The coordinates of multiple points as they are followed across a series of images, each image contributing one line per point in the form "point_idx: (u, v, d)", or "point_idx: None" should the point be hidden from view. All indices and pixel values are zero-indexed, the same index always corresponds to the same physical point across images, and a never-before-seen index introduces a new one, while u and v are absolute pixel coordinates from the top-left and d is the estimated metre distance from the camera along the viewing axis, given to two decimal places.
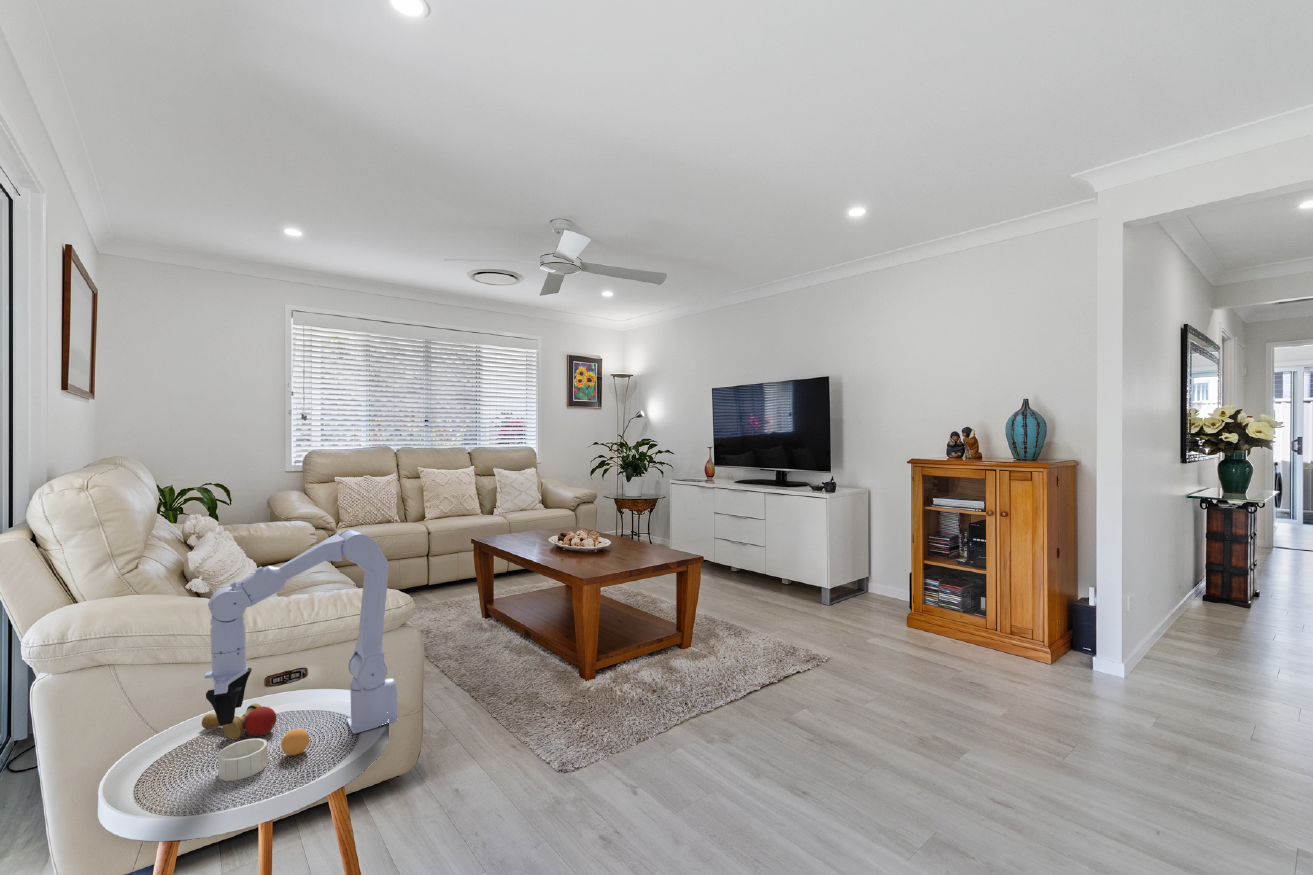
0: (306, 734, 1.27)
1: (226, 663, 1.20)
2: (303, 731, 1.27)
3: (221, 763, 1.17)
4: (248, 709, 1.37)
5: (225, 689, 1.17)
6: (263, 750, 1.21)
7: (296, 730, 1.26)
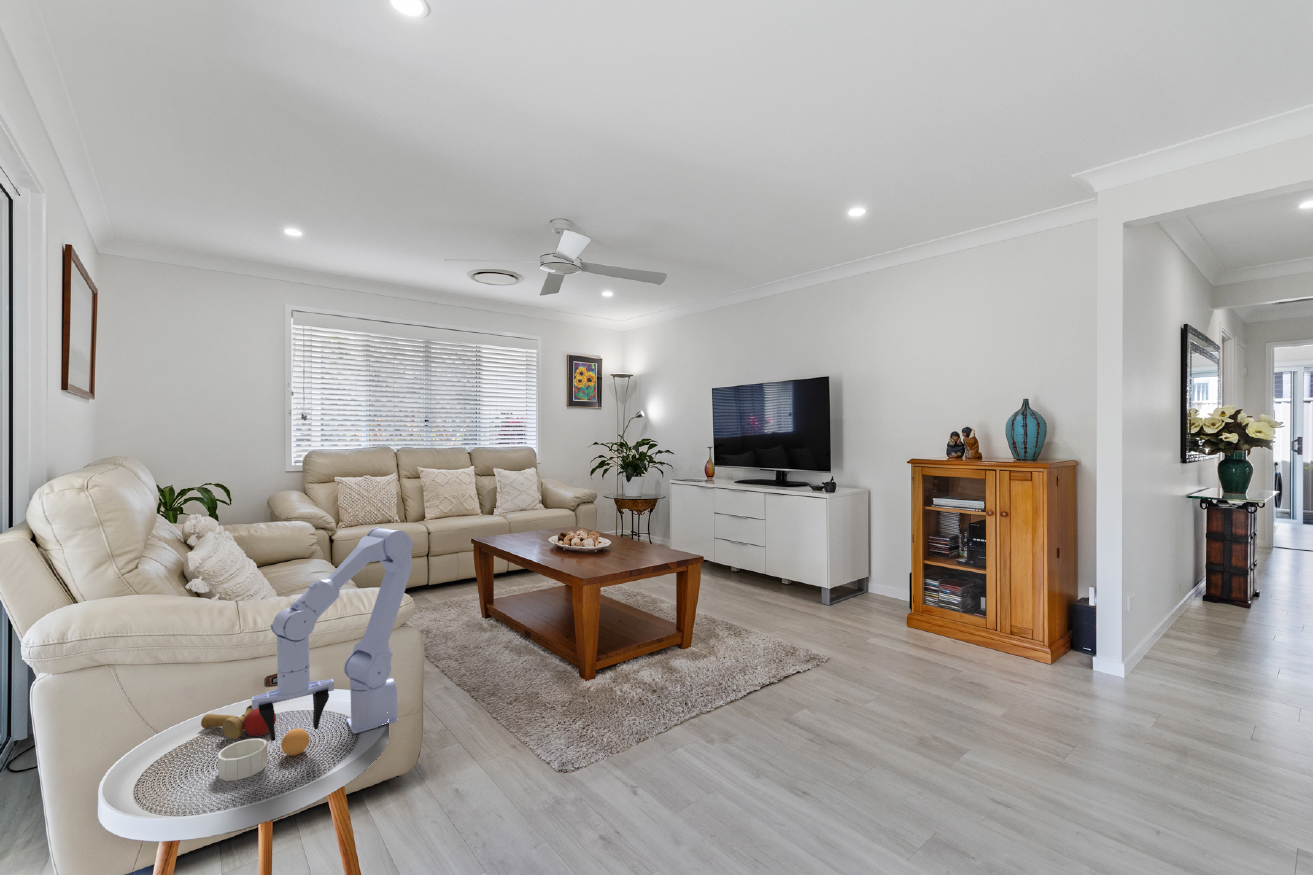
0: (306, 734, 1.27)
1: None
2: (303, 731, 1.27)
3: (221, 763, 1.17)
4: (247, 709, 1.38)
5: (252, 705, 1.21)
6: (263, 750, 1.21)
7: (296, 730, 1.26)
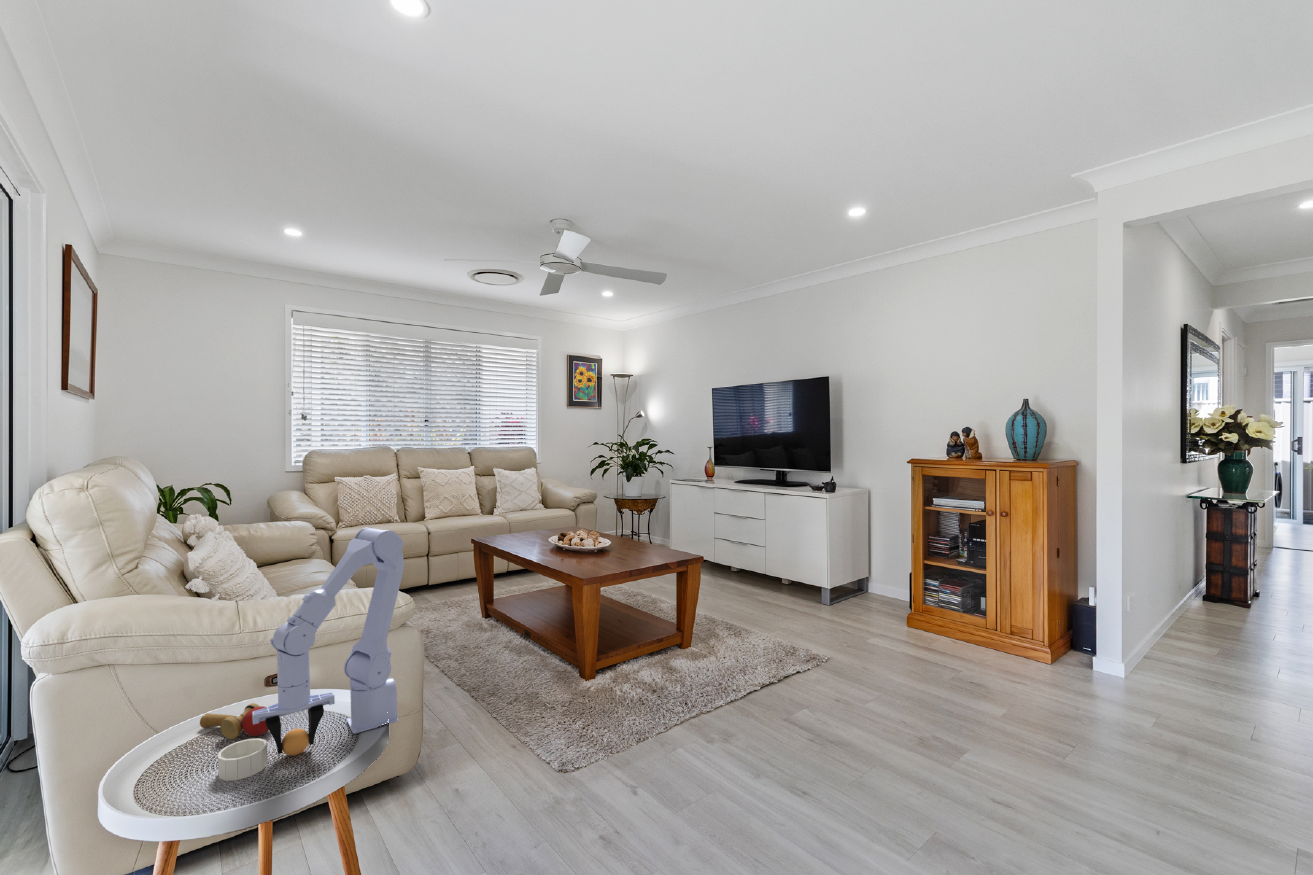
0: (306, 734, 1.27)
1: (278, 695, 1.24)
2: (303, 731, 1.27)
3: (221, 763, 1.17)
4: (246, 709, 1.38)
5: None
6: (263, 750, 1.21)
7: (296, 730, 1.26)
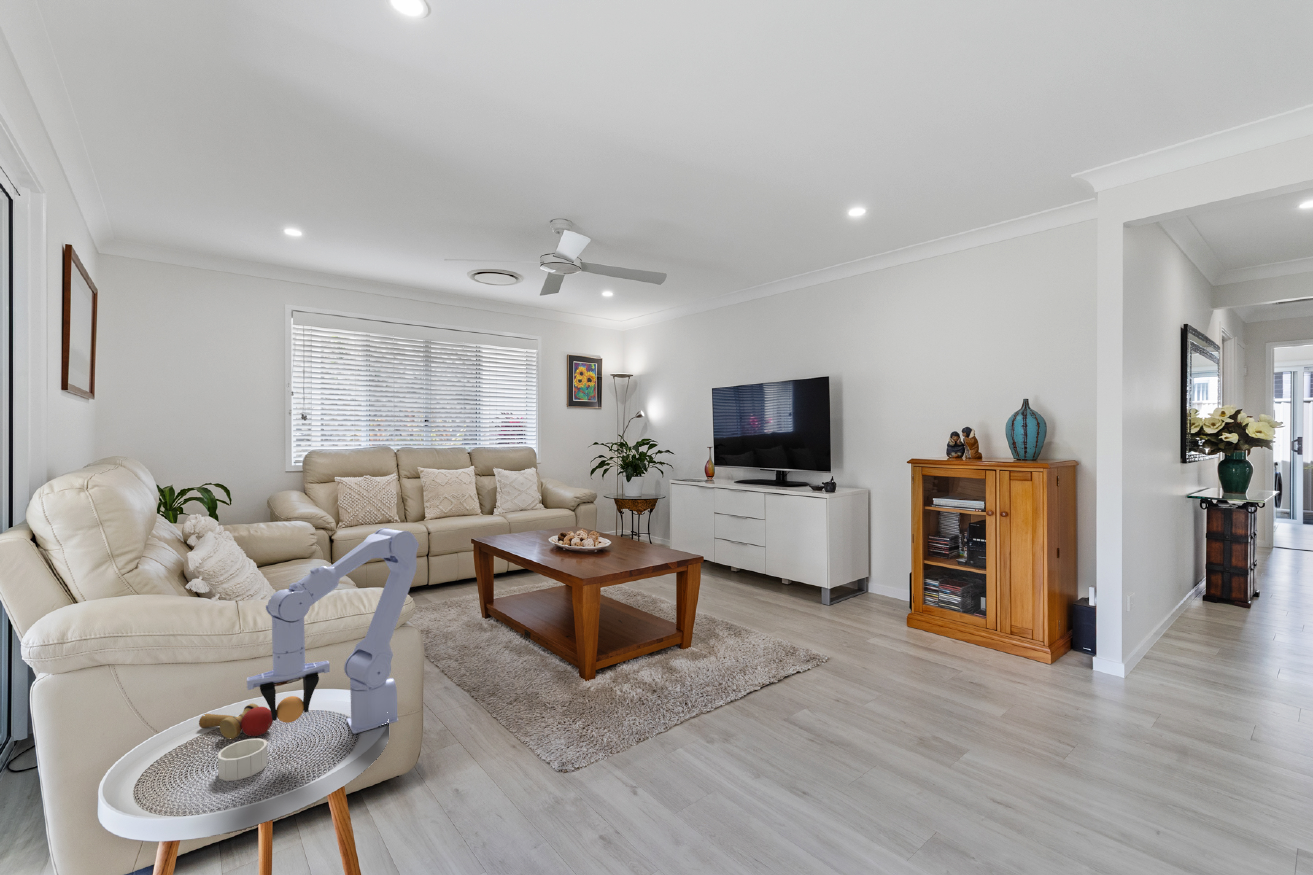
0: (301, 702, 1.26)
1: (273, 662, 1.24)
2: (298, 699, 1.26)
3: (221, 763, 1.17)
4: (245, 709, 1.38)
5: (247, 686, 1.21)
6: (263, 750, 1.21)
7: (290, 697, 1.25)
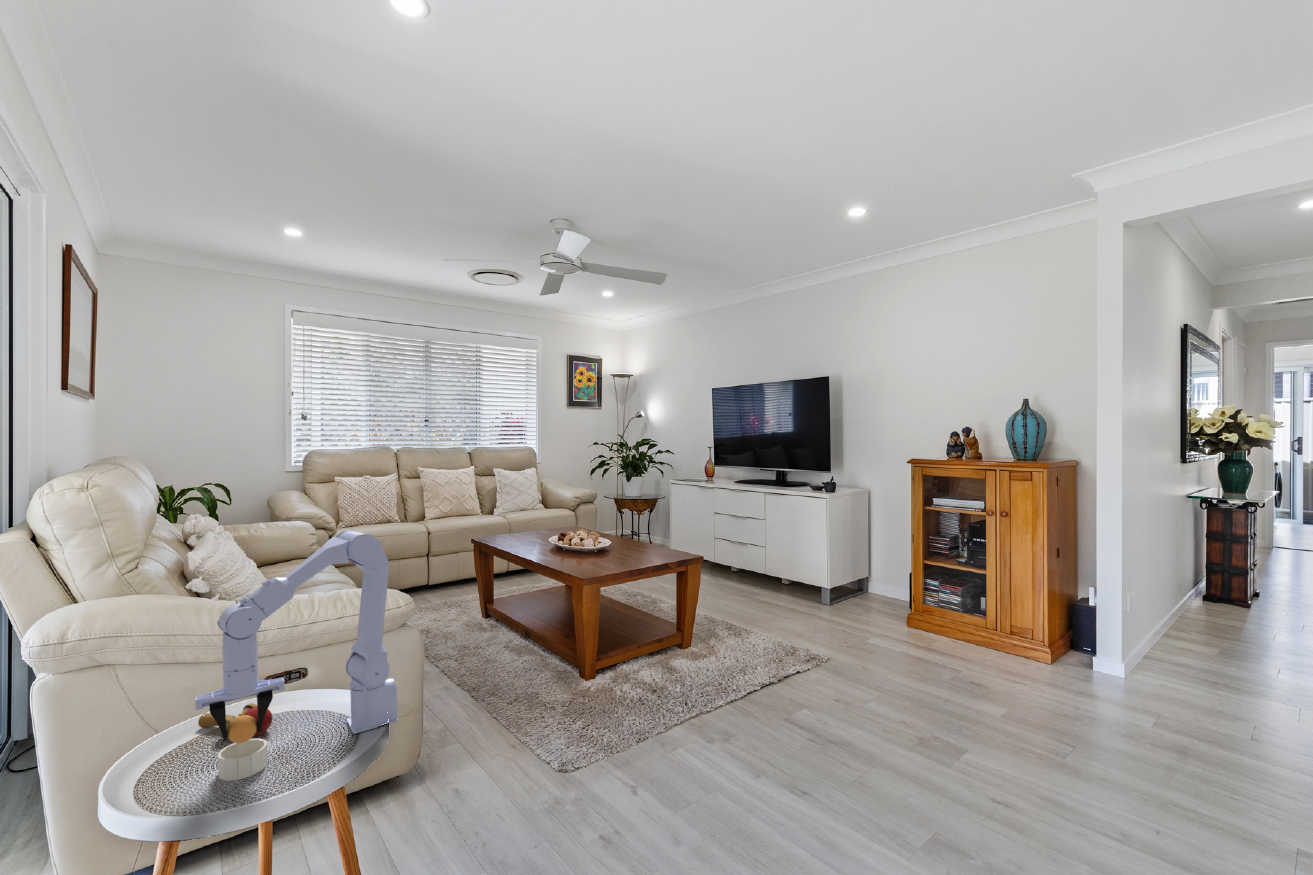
0: (254, 721, 1.21)
1: (223, 680, 1.19)
2: (250, 718, 1.21)
3: (221, 763, 1.17)
4: (244, 709, 1.38)
5: (195, 706, 1.16)
6: (263, 750, 1.21)
7: (242, 717, 1.21)
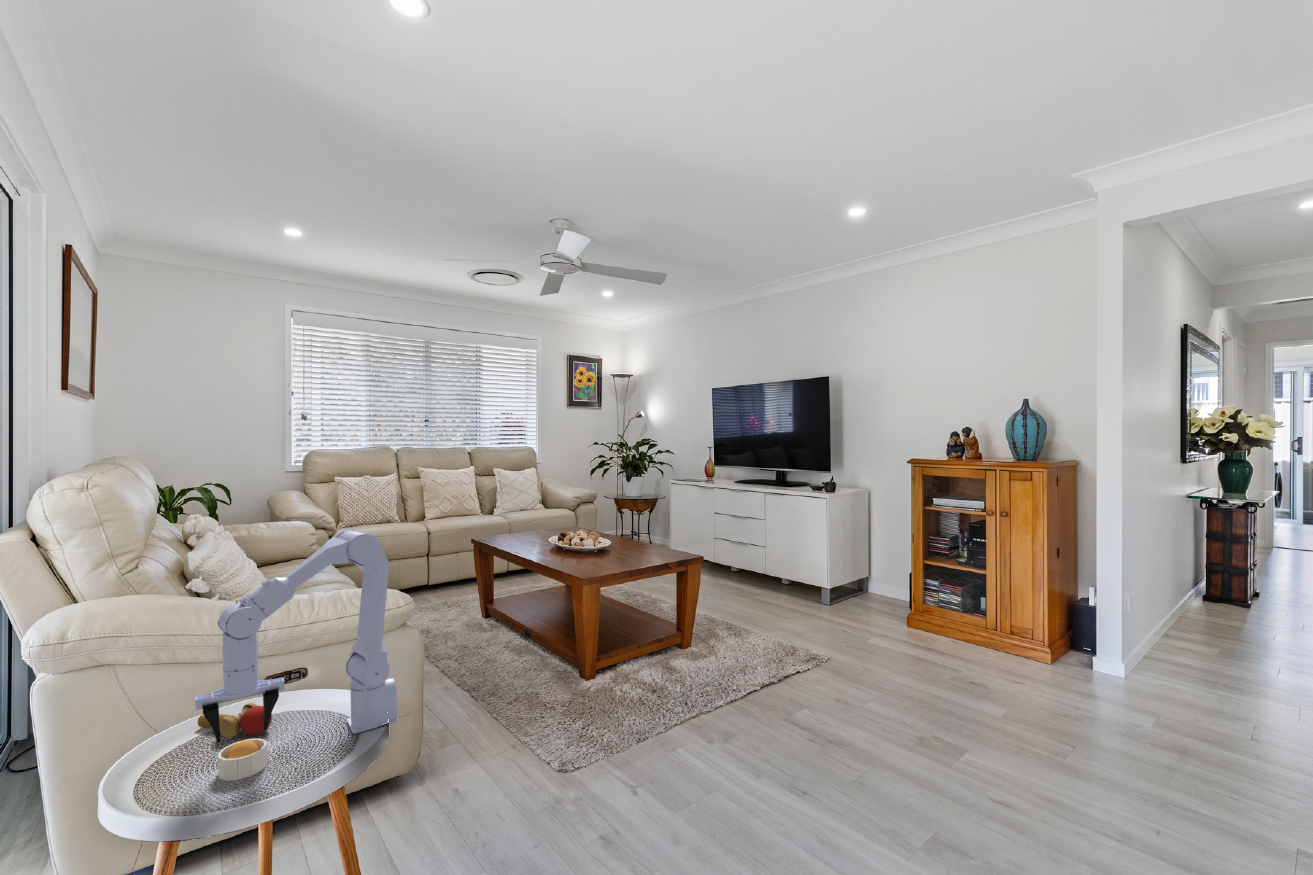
0: (254, 746, 1.21)
1: (223, 680, 1.19)
2: (251, 743, 1.21)
3: (221, 763, 1.17)
4: (244, 708, 1.38)
5: (195, 706, 1.16)
6: (263, 750, 1.21)
7: (243, 742, 1.21)
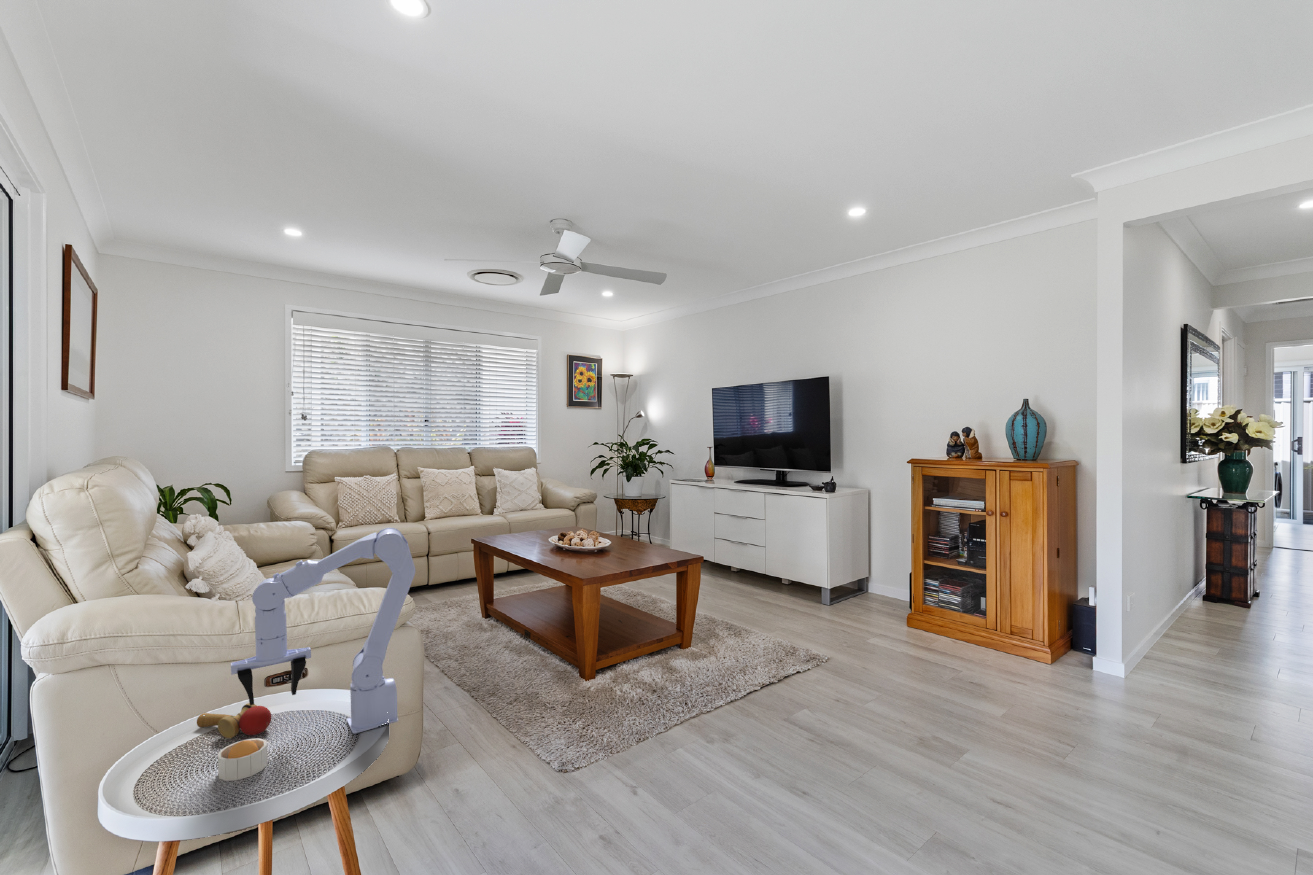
0: (255, 746, 1.21)
1: (256, 648, 1.29)
2: (252, 743, 1.21)
3: (221, 763, 1.17)
4: (243, 708, 1.38)
5: (231, 671, 1.26)
6: (263, 750, 1.21)
7: (244, 742, 1.21)
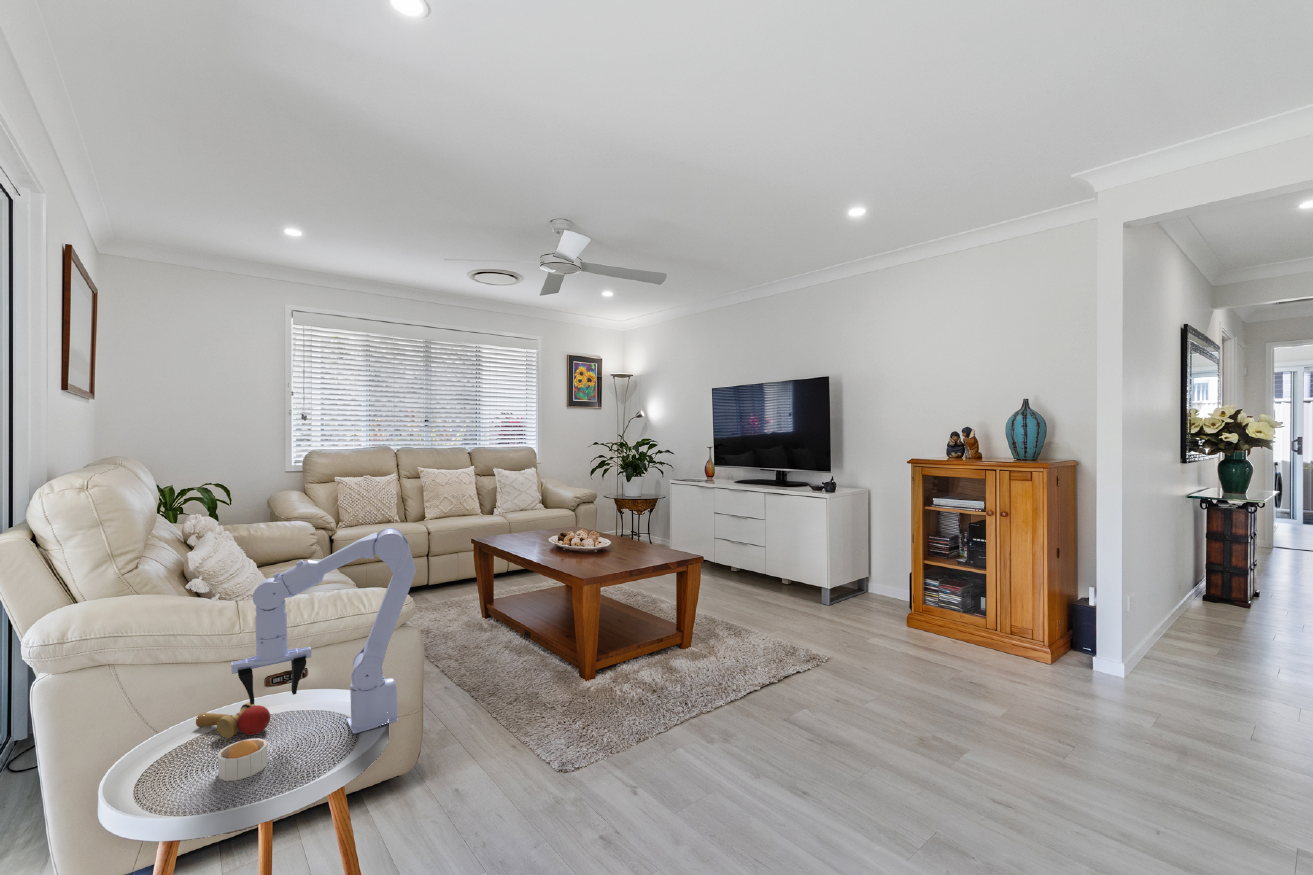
0: (255, 746, 1.21)
1: (256, 647, 1.30)
2: (252, 743, 1.21)
3: (221, 763, 1.17)
4: (242, 708, 1.38)
5: (231, 670, 1.27)
6: (263, 750, 1.21)
7: (244, 742, 1.21)
